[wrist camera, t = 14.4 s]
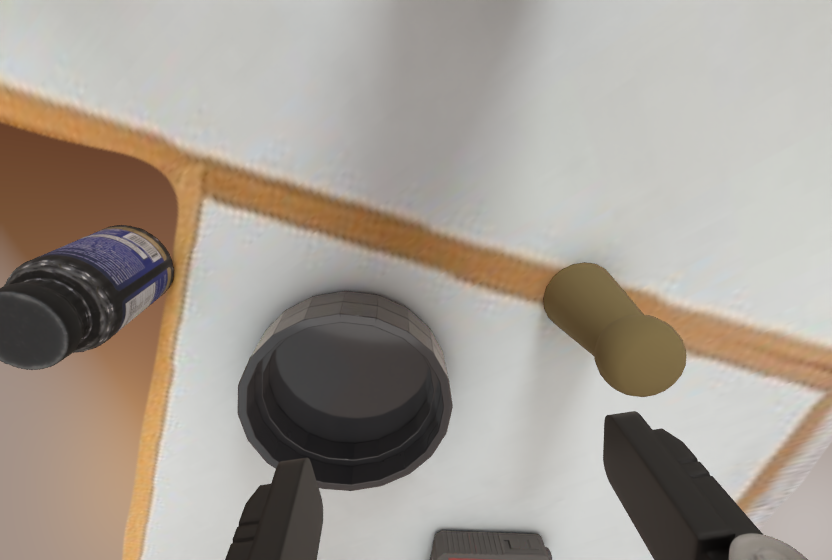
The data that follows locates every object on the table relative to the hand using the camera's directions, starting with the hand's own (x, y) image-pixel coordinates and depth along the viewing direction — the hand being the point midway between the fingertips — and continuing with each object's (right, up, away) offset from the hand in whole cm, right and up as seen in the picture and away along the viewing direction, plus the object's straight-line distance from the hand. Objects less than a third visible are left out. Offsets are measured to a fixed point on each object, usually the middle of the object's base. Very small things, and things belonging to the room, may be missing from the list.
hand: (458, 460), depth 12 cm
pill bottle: (-22, +6, +21) cm, 32 cm away
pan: (-7, -3, +26) cm, 27 cm away
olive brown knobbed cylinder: (+12, +3, +24) cm, 27 cm away
